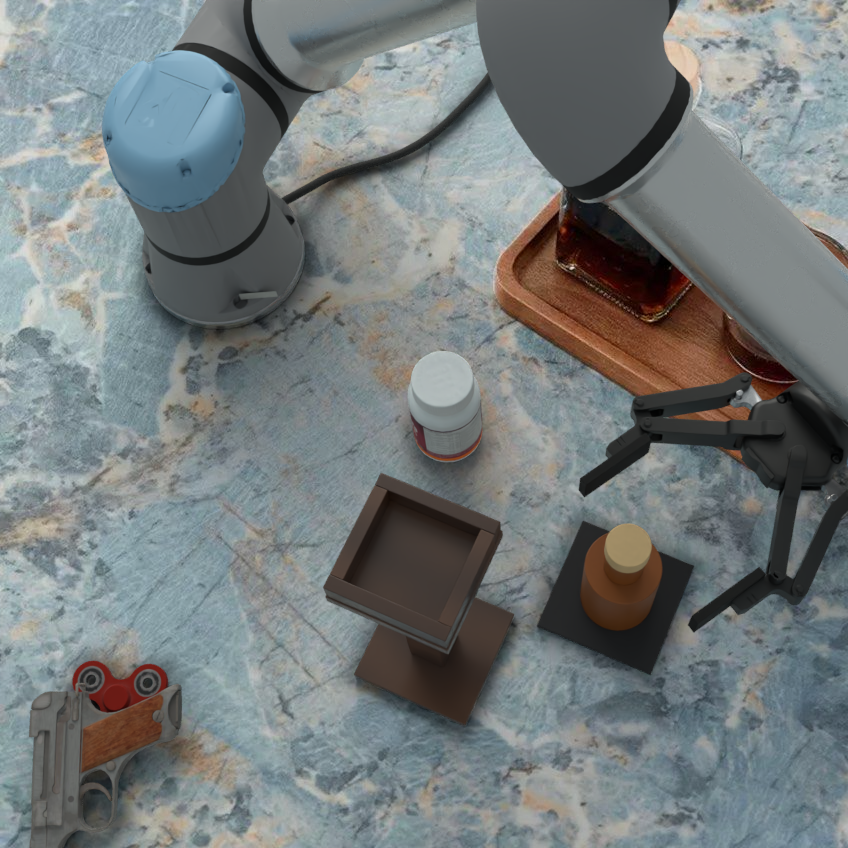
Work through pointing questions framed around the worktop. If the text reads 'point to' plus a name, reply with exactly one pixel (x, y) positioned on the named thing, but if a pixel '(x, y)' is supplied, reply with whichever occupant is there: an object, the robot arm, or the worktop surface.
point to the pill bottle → (445, 407)
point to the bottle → (620, 578)
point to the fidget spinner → (119, 685)
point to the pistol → (87, 754)
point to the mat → (624, 645)
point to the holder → (422, 596)
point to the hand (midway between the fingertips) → (635, 554)
